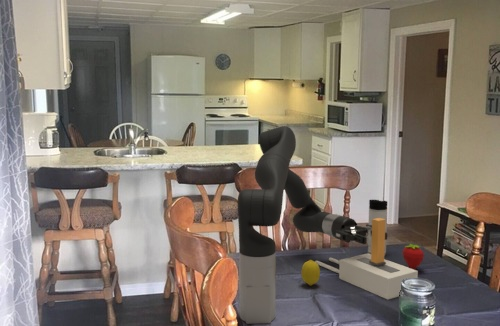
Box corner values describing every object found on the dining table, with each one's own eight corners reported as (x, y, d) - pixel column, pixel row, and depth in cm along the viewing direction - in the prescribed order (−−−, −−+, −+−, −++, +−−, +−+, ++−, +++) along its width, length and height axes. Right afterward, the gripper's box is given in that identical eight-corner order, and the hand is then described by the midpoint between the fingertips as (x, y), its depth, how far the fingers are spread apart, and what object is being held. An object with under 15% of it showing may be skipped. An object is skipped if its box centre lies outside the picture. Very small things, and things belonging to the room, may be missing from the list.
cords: (359, 271, 171) (359, 268, 171) (342, 276, 167) (342, 272, 167) (330, 260, 183) (330, 256, 183) (314, 263, 179) (314, 260, 179)
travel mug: (364, 255, 188) (366, 199, 185) (371, 250, 193) (373, 196, 191) (381, 258, 185) (383, 201, 182) (388, 253, 190) (390, 198, 187)
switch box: (417, 290, 155) (417, 270, 154) (387, 299, 148) (388, 278, 148) (367, 271, 172) (367, 252, 171) (339, 278, 165) (339, 259, 164)
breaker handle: (385, 264, 158) (387, 219, 157) (378, 266, 157) (379, 221, 155) (376, 261, 161) (378, 217, 160) (369, 262, 160) (370, 218, 158)
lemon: (304, 281, 163) (305, 255, 162) (322, 284, 160) (322, 258, 159) (298, 287, 158) (298, 261, 157) (316, 290, 156) (316, 263, 154)
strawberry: (412, 275, 168) (413, 244, 167) (397, 267, 175) (398, 238, 174) (427, 272, 170) (429, 242, 169) (412, 265, 177) (413, 236, 176)
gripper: (322, 218, 168) (359, 229, 154) (355, 213, 176) (393, 223, 162) (322, 241, 169) (358, 254, 155) (355, 235, 177) (392, 247, 163)
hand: (376, 238), depth 159 cm, fingers open, 8 cm apart
